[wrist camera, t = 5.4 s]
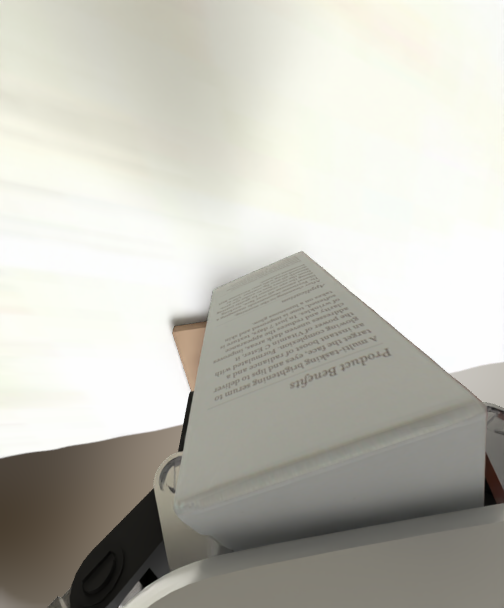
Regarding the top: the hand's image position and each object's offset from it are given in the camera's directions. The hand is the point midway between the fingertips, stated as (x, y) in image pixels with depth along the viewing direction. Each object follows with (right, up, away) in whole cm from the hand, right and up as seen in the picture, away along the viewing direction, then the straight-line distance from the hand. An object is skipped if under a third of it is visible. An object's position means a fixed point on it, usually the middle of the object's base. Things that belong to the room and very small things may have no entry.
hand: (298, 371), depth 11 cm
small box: (0, +2, +4) cm, 4 cm away
